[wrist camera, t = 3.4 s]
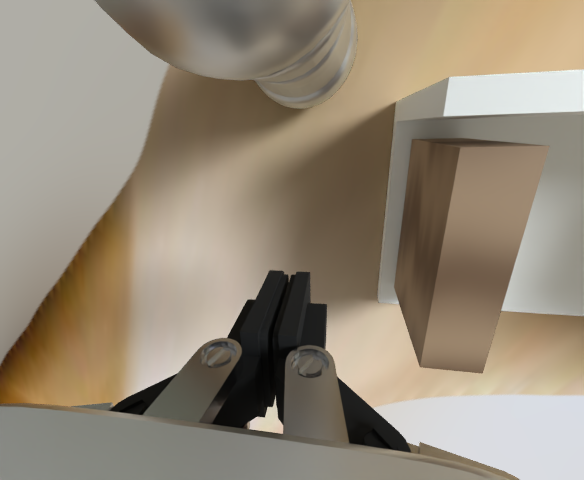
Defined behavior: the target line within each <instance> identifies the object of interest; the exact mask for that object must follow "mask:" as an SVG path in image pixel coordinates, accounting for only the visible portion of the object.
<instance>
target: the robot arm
mask: <svg viewBox="0 0 584 480" xmlns="http://www.w3.org/2000/svg"><path fill="white" fill-rule="evenodd" d="M326 320H327V304H313V303H310V272H296V275H291V278H290V281H289V278H288V275H286V274H284V272H283V271H273V270H270V271H269V273H268V275H267V277H266V279H265V281H264V283H263V286H262V288H261V290H260V292H259V294H258V296H257V298H256V300H247V302H246V303H245V305H244V307H243V309H242V311H241V313H240V315H239V316H238V318H237V320H236V322H235V324H234V326H233V328H232V329H231V331H230V333H229V335H228V337H227V338H219V339H215V340H212V341H209V342H207V343H206V344H204V345H203V346H202V347H200V348H199V349H198V350H197V352H196V353H195V354H194V355H193V356H192V357H191V359H190V360H189V361H188V362H187V363H186V364H185V366H184V367H183V368H182V369H181V370H180V371H179V373H178V374H175V375H173V376H171V377H169V378H167V379H165V380H163V381H161V382H159V383H157V384H155V385H152V386H150V387H148V388H146V389H144V390H142V391H140V392H138V393H136V394H134V395H131V396H129V397H127V398H126V399H124V400H122V401H121V402H119V403H118V404H116V405H115V406H113V403H102V404H92V405H82V406H72V407H68V406H59V405H47V404H31V403H16V404H0V480H519V479H518V478H516V477H515V476H513V475H511V474H508V473H507V472H505V471H502V470H499V469H496V468H493V467H490V466H487V465H484V464H481V463H478V462H476V461H473V460H470V459H467V458H464V457H461V456H458V455H456V454H452V453H450V452H447V451H444V450H441V449H438V448H435V447H432V446H430V445H427V444H424V443H421V442H420V443H419V447H418V446H416V445H413V444H410V443H407V442H406V440H405V439H404V437H403V436H402V435H401V434H400V433H399V432H398V431H397V430H396V429H395V428H394V427H393V426H392V425H391V424H389V423H388V422H387V421H386V420H385V419H384V418H383V417H382V416H380V415H379V414H378V413H377V412H376V411H375V410H374V409H373V408H372V407H370V406H369V405H368V404H367V403H366V402H365V401H364V400H363V399H361V398H360V397H359V396H358V395H357V394H356V393H355V392H354V391H353V390H351V389H350V388H349V387H348V386H347V385H346V384H345V383H344V382H342V381H341V380H340V379H339V378H338V377H337V374H336V369H335V363H334V360H333V357H332V356H331V355H330V353H329V352H328V351H326V350H325V346H326ZM275 396H276V405H277V409H278V419H279V420H280V421H281V423H282V424H283V425H284V426H283V434H279V433H272V432H265V431H257V430H250V429H249V428H250V421H251V420H252V419H254V418H255V417H257V416H258V417H265V415H266V411H267V407H273V404H274V400H275Z"/></svg>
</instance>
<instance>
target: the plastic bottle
mask: <svg viewBox="0 0 584 480" xmlns="http://www.w3.org/2000/svg"><path fill="white" fill-rule="evenodd" d="M95 1H96V2H97V3H98V5H99V6H100V7H101V8H102V9H103V10H104V11H105V12H106V13H107V14H108V15H109V16H110V17H111V18H112V19H113V20H114V21H115V22H117V23H118V24H119V25H120V26H121V27H122V28H123V29H124V30H125V31H126V32H127V33H128V34H129V35H130V36H131V37H133V38H134V39H135V40H136V41H137V42H138V43H140V44H141V45H142V46H143V47H144V48H146V49H147V50H148V51H149V52H150V53H151V54H153V55H155V56H157V57H158V58H160V59H162V60H164V61H165V62H167V63H169V64H171V65H172V66H174V67H176V68H178V69H182V70H185V71H188V72H191V73H194V74H198V75H201V76H205V77H212V78H216V79H226V80H241V81H243V80H254V81H255V82H256V83H257V85H258V86H259V87H260V88H261V90H262V91H263V92H264V93H265V94H266V95H267V96H269V97H270V98H271V99H272V100H274V101H275V102H277V103H279V104H281V105H283V106H286V107H290V108H298V109H303V108H309V107H313V106H316V105H318V104H321V103H323V102H324V101H326V100H327V99H329V98H330V97H332V96H333V95H334V94H335V93H336V92H337V91H338V90H339V89H340V87H341V86H342V84H343V83H344V82H345V80H346V79H347V77H348V75H349V73H350V70H351V68H352V66H353V62H354V59H355V55H356V50H357V41H358V35H357V23H356V18H355V13H354V9H353V5H352V2H351V0H95Z"/></svg>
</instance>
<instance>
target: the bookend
mask: <svg viewBox="0 0 584 480" xmlns="http://www.w3.org/2000/svg"><path fill="white" fill-rule="evenodd" d="M549 147H550V146H546V145H535V144H524V143H513V142H502V141H491V140H480V139H469V138H438V139H412V144H411V152H410V160H409V168H408V176H407V185H406V193H405V201H404V209H403V217H402V226H401V234H400V242H399V250H398V258H397V267H396V275H395V283H394V289H395V292H396V295H397V298H398V301H399V304H400V307H401V310H402V314H403V317H404V320H405V323H406V326H407V329H408V332H409V335H410V338H411V341H412V344H413V347H414V350H415V353H416V356H417V359H418V362H419V365H420V367H423V368H433V369H443V370H453V371H463V372H473V373H483V370H484V367H485V363H486V360H487V357H488V353H489V350H490V346H491V343H492V340H493V336H494V333H495V329H496V326H497V323H498V319H499V316H500V313H501V309H502V306H503V302H504V299H505V296H506V292H507V289H508V285H509V282H510V279H511V275H512V272H513V268H514V265H515V262H516V258H517V255H518V252H519V248H520V245H521V241H522V238H523V235H524V231H525V228H526V224H527V221H528V218H529V214H530V211H531V208H532V204H533V201H534V197H535V194H536V191H537V187H538V184H539V180H540V177H541V174H542V170H543V167H544V163H545V160H546V157H547V153H548V150H549Z"/></svg>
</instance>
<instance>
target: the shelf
mask: <svg viewBox="0 0 584 480" xmlns="http://www.w3.org/2000/svg"><path fill="white" fill-rule="evenodd" d="M438 138H469V139H480V140H491V141H502V142H513V143H524V144H535V145H546V146H550V147H549V150H548V153H547V157H546V160H545V163H544V167H543V170H542V174H541V177H540V180H539V184H538V187H537V191H536V194H535V197H534V201H533V204H532V208H531V211H530V214H529V218H528V221H527V224H526V228H525V231H524V235H523V238H522V241H521V245H520V248H519V252H518V255H517V258H516V262H515V265H514V268H513V272H512V275H511V279H510V282H509V285H508V289H507V292H506V296H505V299H504V302H503V306H502V309H501V311H511V312H526V313H541V314H556V315H571V316H584V70H566V71H548V72H530V73H513V74H495V75H477V76H459V77H448V78H446V79H444V80H442V81H440V82H438V83H435V84H433V85H431V86H429V87H427V88H425V89H422V90H420V91H418V92H416V93H414V94H412V95H409V96H407V97H405V98H403V99H401V100H399V101H396V107H395V117H394V128H393V138H392V148H391V158H390V169H389V179H388V189H387V199H386V210H385V220H384V230H383V240H382V251H381V261H380V271H379V282H378V292H377V298H378V303H391V304H399V301H398V298H397V295H396V292H395V289H394V283H395V275H396V267H397V258H398V250H399V242H400V234H401V226H402V217H403V209H404V201H405V193H406V185H407V176H408V168H409V160H410V152H411V144H412V139H438Z"/></svg>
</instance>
